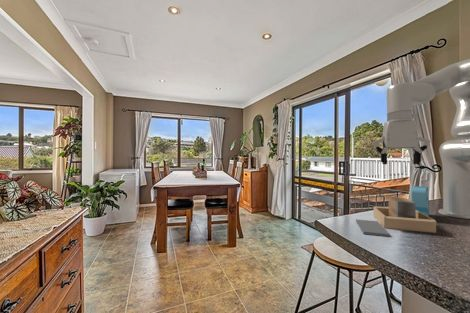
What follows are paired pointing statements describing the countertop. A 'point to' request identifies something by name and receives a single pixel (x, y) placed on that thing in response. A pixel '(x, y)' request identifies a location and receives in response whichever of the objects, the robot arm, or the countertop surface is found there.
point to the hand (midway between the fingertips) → (400, 164)
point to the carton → (405, 221)
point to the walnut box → (401, 207)
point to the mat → (372, 228)
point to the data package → (420, 199)
